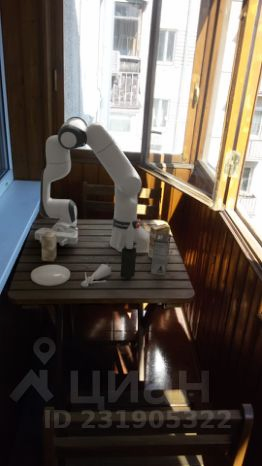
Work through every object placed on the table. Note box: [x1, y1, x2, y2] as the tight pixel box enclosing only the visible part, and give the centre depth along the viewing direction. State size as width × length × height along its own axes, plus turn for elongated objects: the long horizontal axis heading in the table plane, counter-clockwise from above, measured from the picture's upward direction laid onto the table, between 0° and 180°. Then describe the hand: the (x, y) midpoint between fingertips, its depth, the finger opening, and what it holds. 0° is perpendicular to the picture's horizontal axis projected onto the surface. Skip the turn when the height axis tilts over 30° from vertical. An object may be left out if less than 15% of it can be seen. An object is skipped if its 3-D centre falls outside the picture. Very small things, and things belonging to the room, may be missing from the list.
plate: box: [30, 264, 71, 287], centre depth 162 cm, size 16×16×1 cm
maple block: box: [41, 231, 57, 263], centre depth 174 cm, size 5×5×12 cm
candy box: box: [147, 223, 171, 259], centre depth 184 cm, size 9×4×15 cm, turn 125°
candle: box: [119, 222, 137, 280], centre depth 162 cm, size 5×5×25 cm
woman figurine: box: [80, 263, 113, 288], centre depth 162 cm, size 12×4×18 cm
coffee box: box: [150, 233, 172, 276], centre depth 171 cm, size 9×6×16 cm
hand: (51, 242), depth 177 cm, fingers open, 8 cm apart
